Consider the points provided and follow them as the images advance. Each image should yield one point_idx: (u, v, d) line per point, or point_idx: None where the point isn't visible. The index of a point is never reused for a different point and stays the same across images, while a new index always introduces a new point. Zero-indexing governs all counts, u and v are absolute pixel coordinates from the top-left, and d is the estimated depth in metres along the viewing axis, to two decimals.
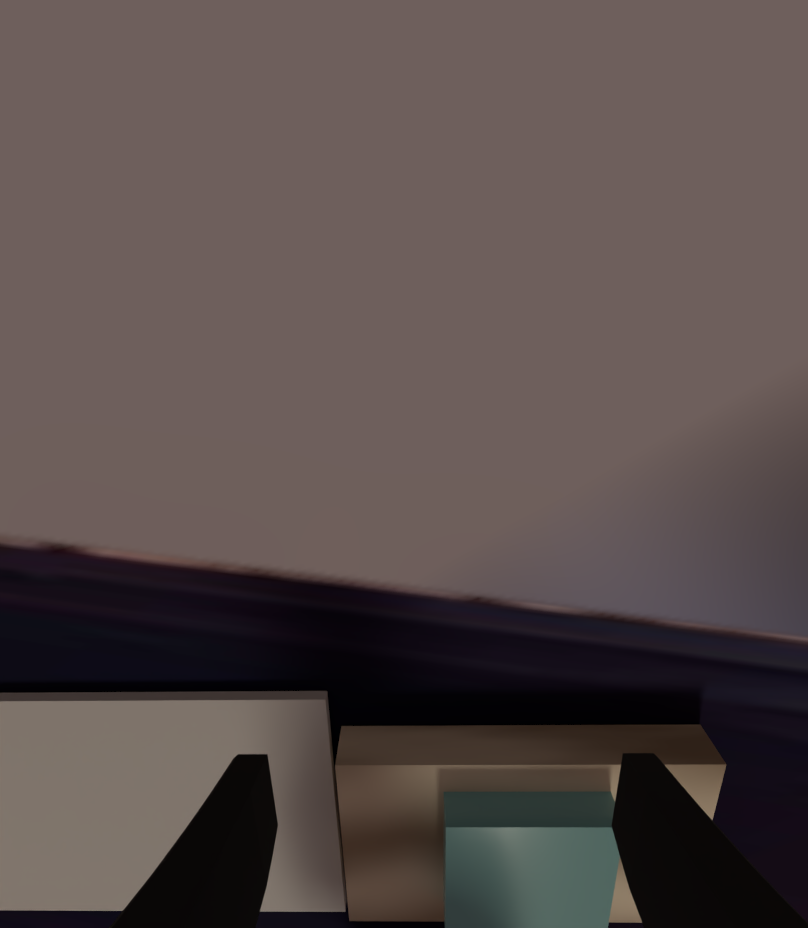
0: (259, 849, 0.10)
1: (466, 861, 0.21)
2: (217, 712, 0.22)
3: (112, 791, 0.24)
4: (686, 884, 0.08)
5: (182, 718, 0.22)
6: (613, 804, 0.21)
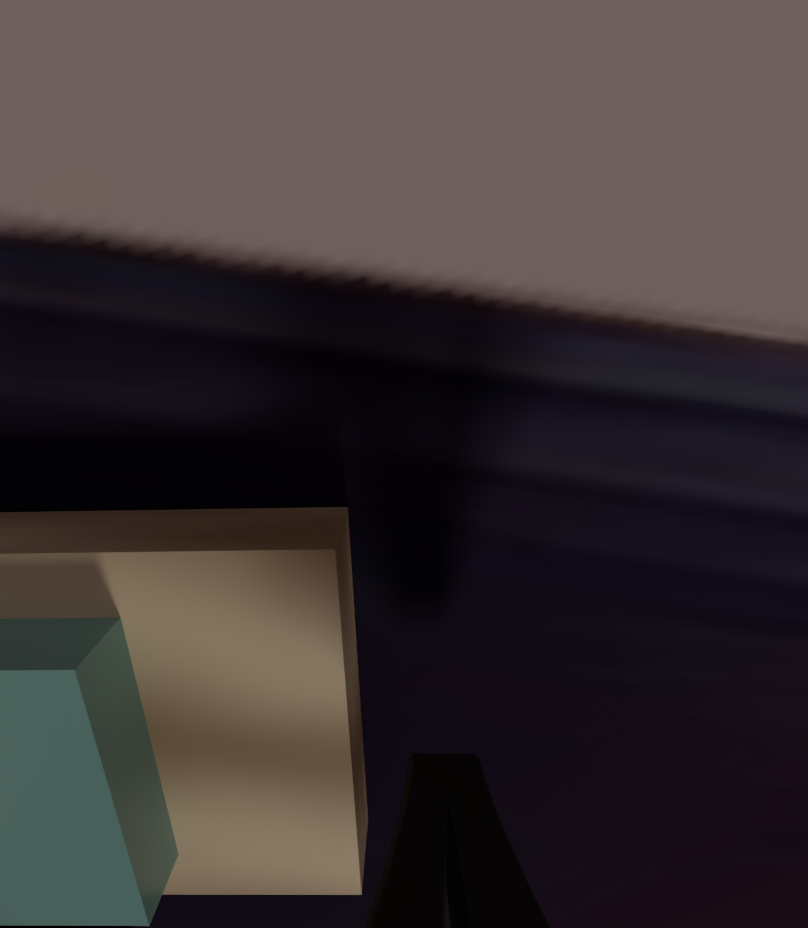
0: (446, 849, 0.09)
1: None
2: None
3: None
4: (458, 883, 0.08)
5: None
6: (100, 635, 0.10)
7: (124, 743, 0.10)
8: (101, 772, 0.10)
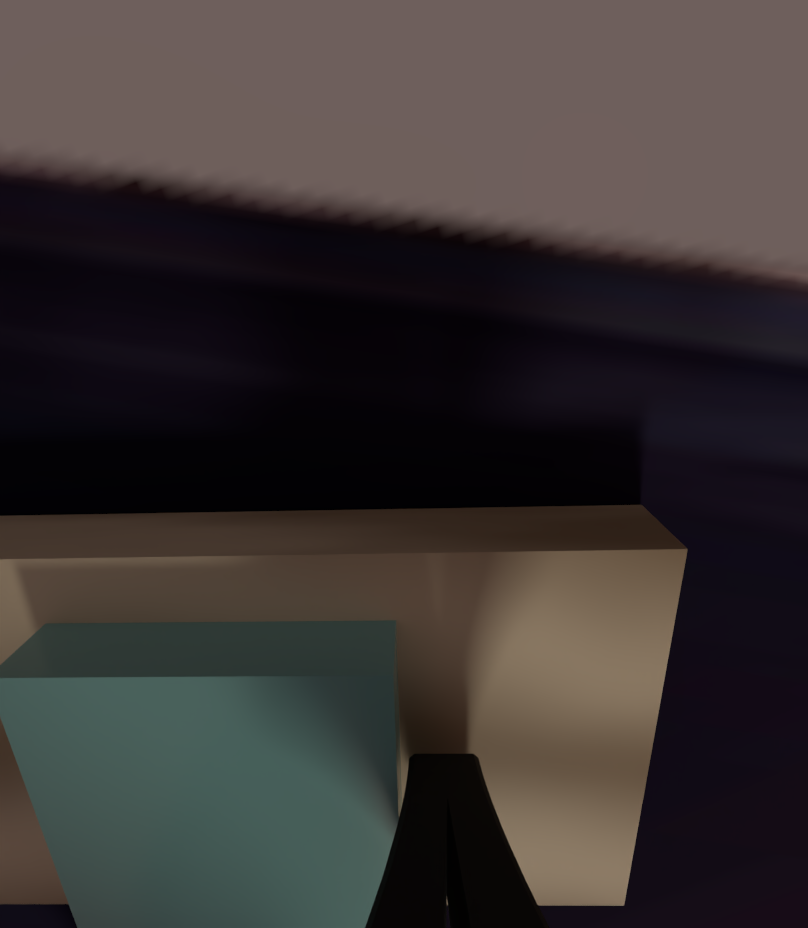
0: (446, 849, 0.09)
1: (64, 764, 0.09)
2: None
3: None
4: (457, 883, 0.08)
5: None
6: (390, 639, 0.09)
7: (398, 751, 0.10)
8: (392, 782, 0.09)
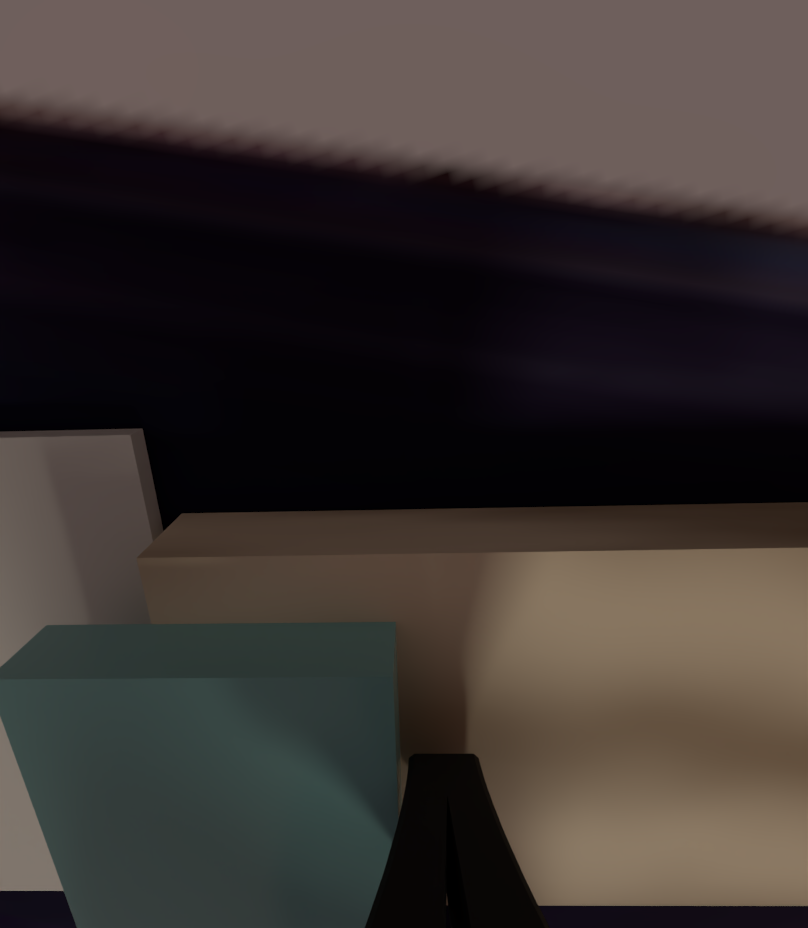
0: (446, 849, 0.09)
1: (64, 766, 0.09)
2: None
3: None
4: (458, 883, 0.08)
5: None
6: (389, 640, 0.09)
7: (398, 752, 0.10)
8: (392, 782, 0.09)
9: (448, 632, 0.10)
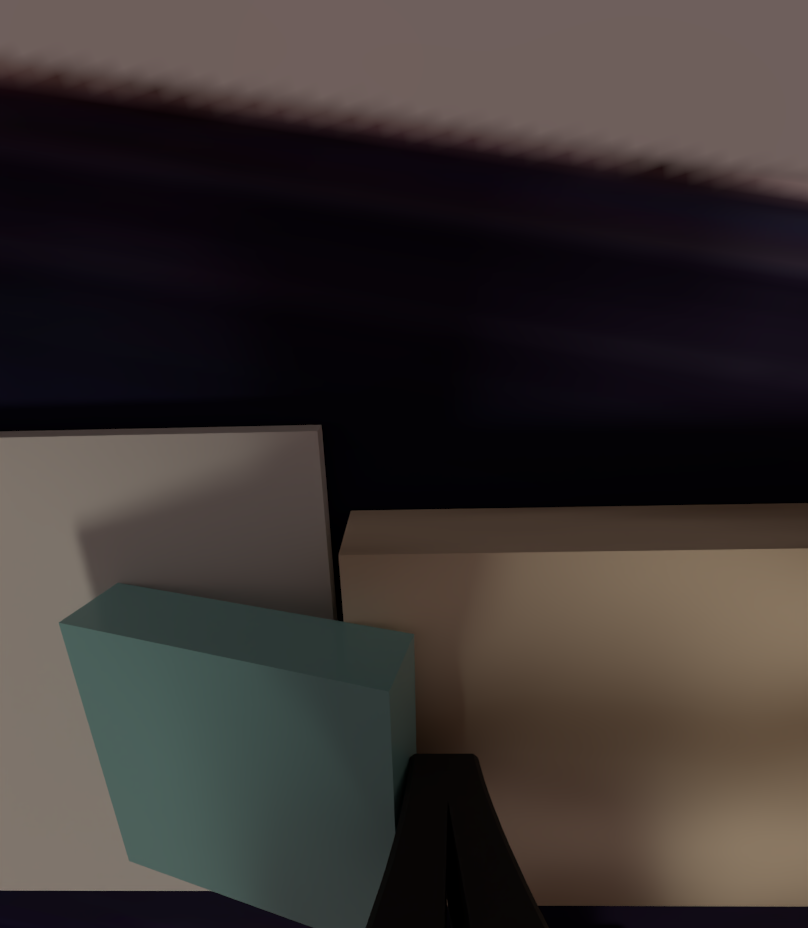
0: (447, 849, 0.09)
1: (114, 709, 0.11)
2: (92, 467, 0.11)
3: None
4: (457, 883, 0.08)
5: (21, 482, 0.11)
6: (400, 653, 0.09)
7: (405, 768, 0.10)
8: (389, 798, 0.09)
9: (645, 631, 0.10)
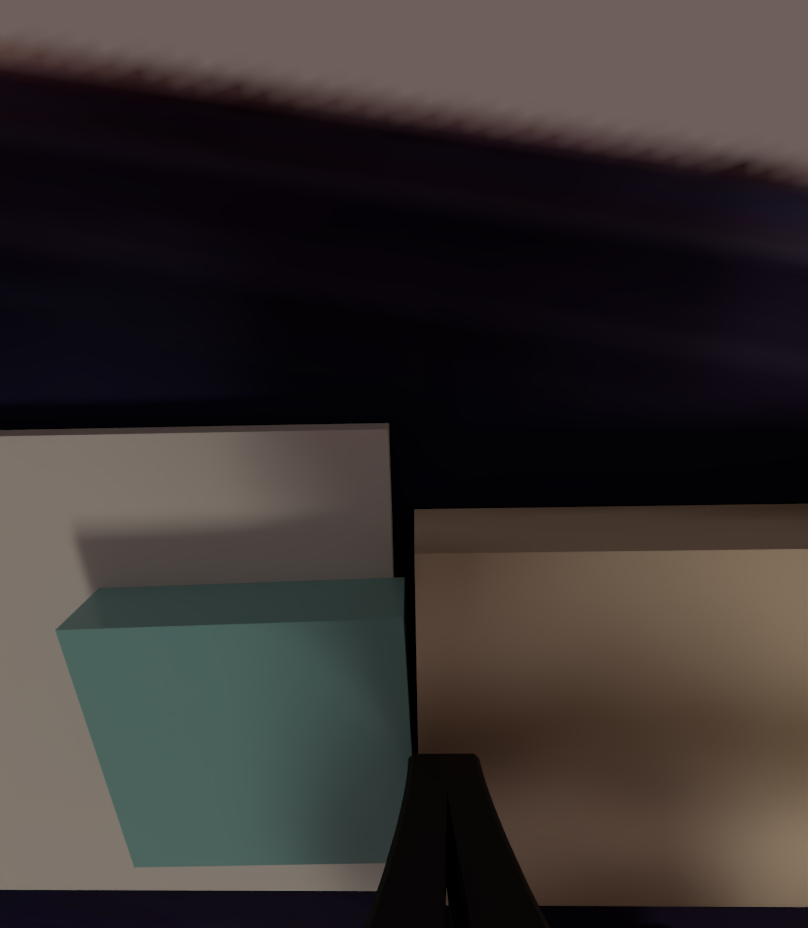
0: (446, 849, 0.09)
1: (121, 706, 0.11)
2: (159, 464, 0.11)
3: None
4: (458, 883, 0.08)
5: (87, 480, 0.11)
6: (399, 591, 0.11)
7: (409, 692, 0.11)
8: (405, 715, 0.11)
9: (718, 630, 0.10)
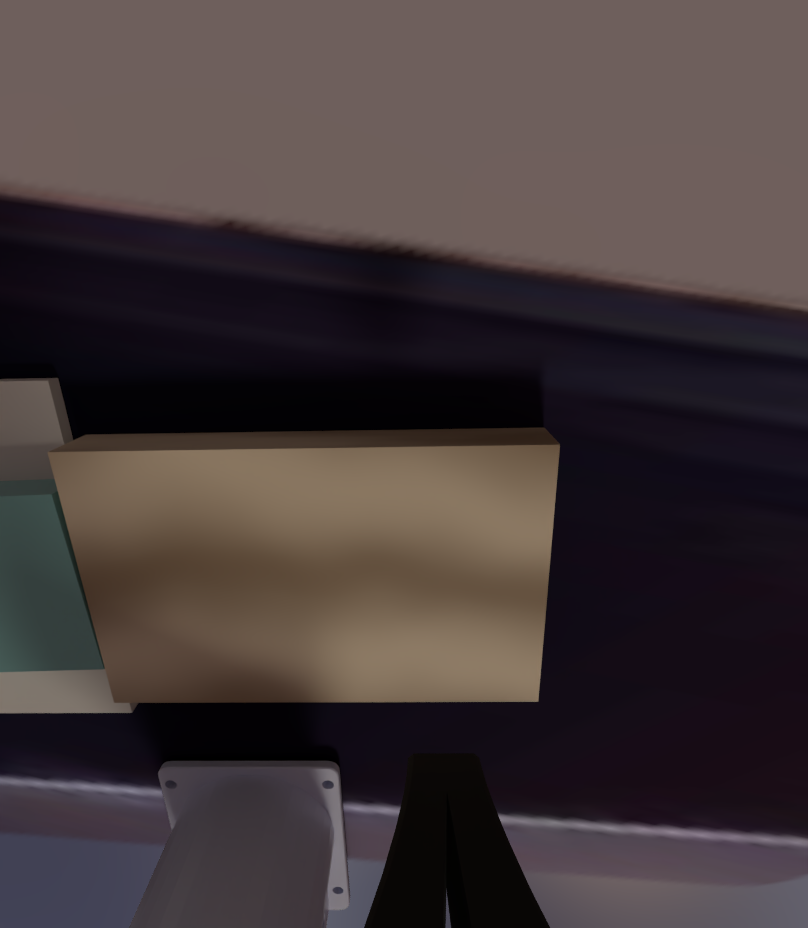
0: (446, 849, 0.09)
1: None
2: None
3: None
4: (458, 883, 0.08)
5: None
6: None
7: None
8: (69, 561, 0.17)
9: (241, 501, 0.16)
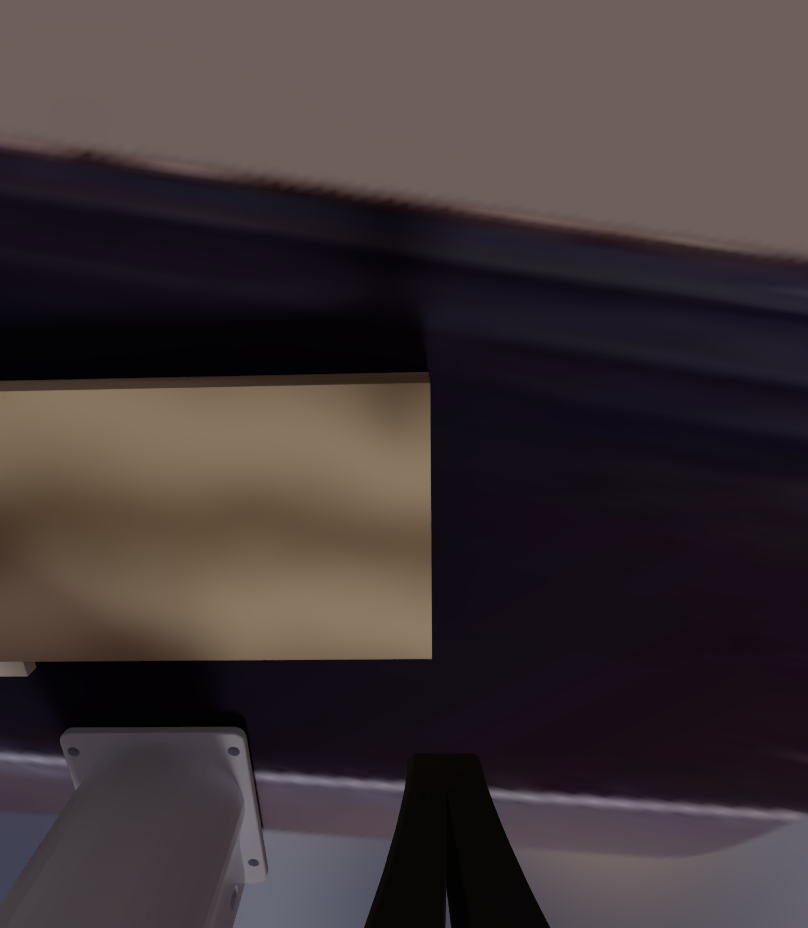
0: (446, 849, 0.09)
1: None
2: None
3: None
4: (458, 883, 0.08)
5: None
6: None
7: None
8: None
9: (107, 446, 0.16)
